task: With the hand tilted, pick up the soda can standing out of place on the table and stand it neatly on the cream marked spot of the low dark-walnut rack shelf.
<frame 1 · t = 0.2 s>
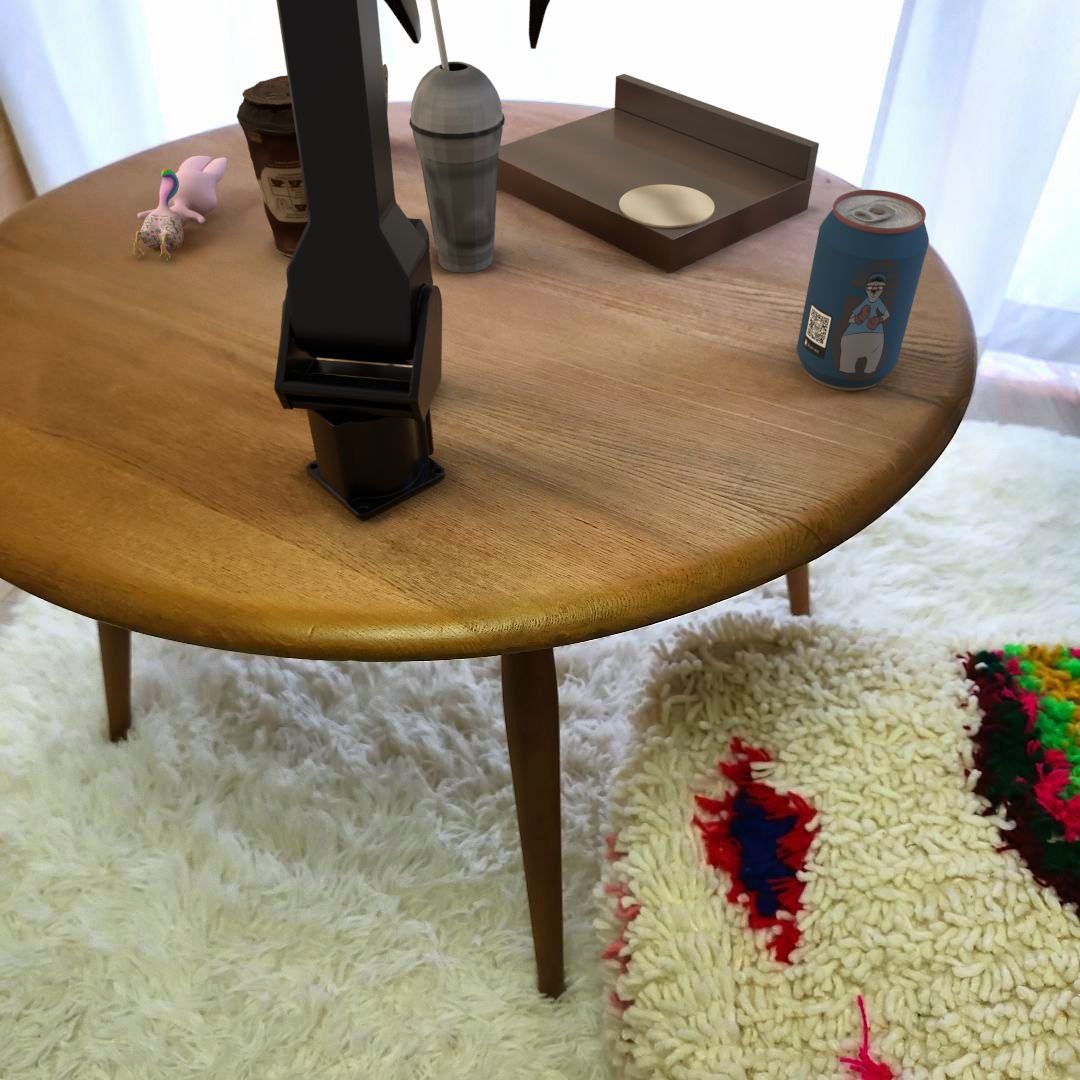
hand: (475, 43, 79), 15 cm above the table, tool pointing down, fingers open, 9 cm apart
rack shelf: (642, 195, 95), on the table
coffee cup: (313, 246, 88), on the table
rabbit figure: (190, 224, 92), on the table
cup: (359, 154, 103), on the table
beverage cup: (465, 262, 86), on the table
hand bell: (371, 394, 72), on the table
soda can: (842, 370, 73), on the table
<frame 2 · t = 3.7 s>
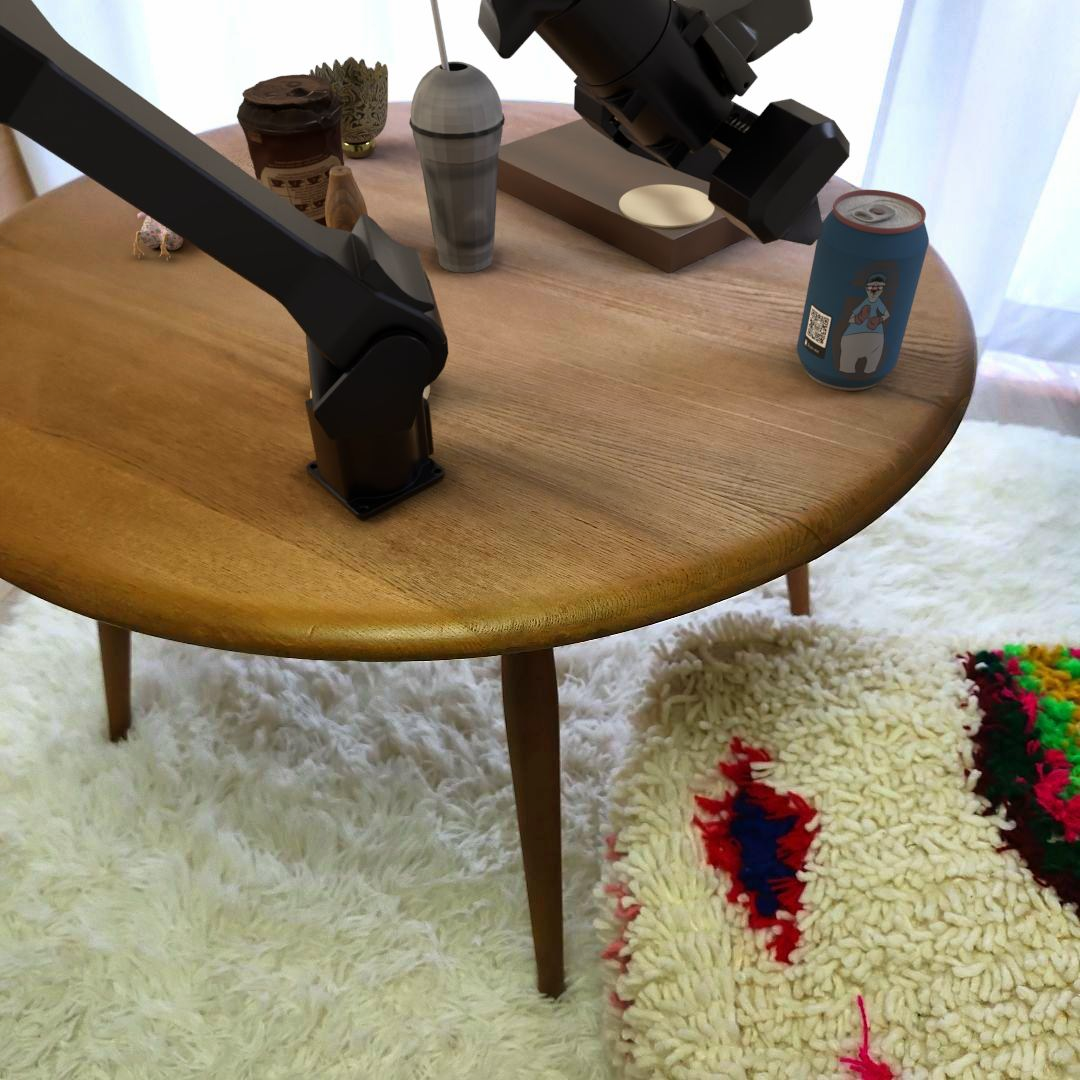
hand: (767, 206, 62), 14 cm above the table, tool tilted 45°, fingers open, 9 cm apart
nothing on the table moved.
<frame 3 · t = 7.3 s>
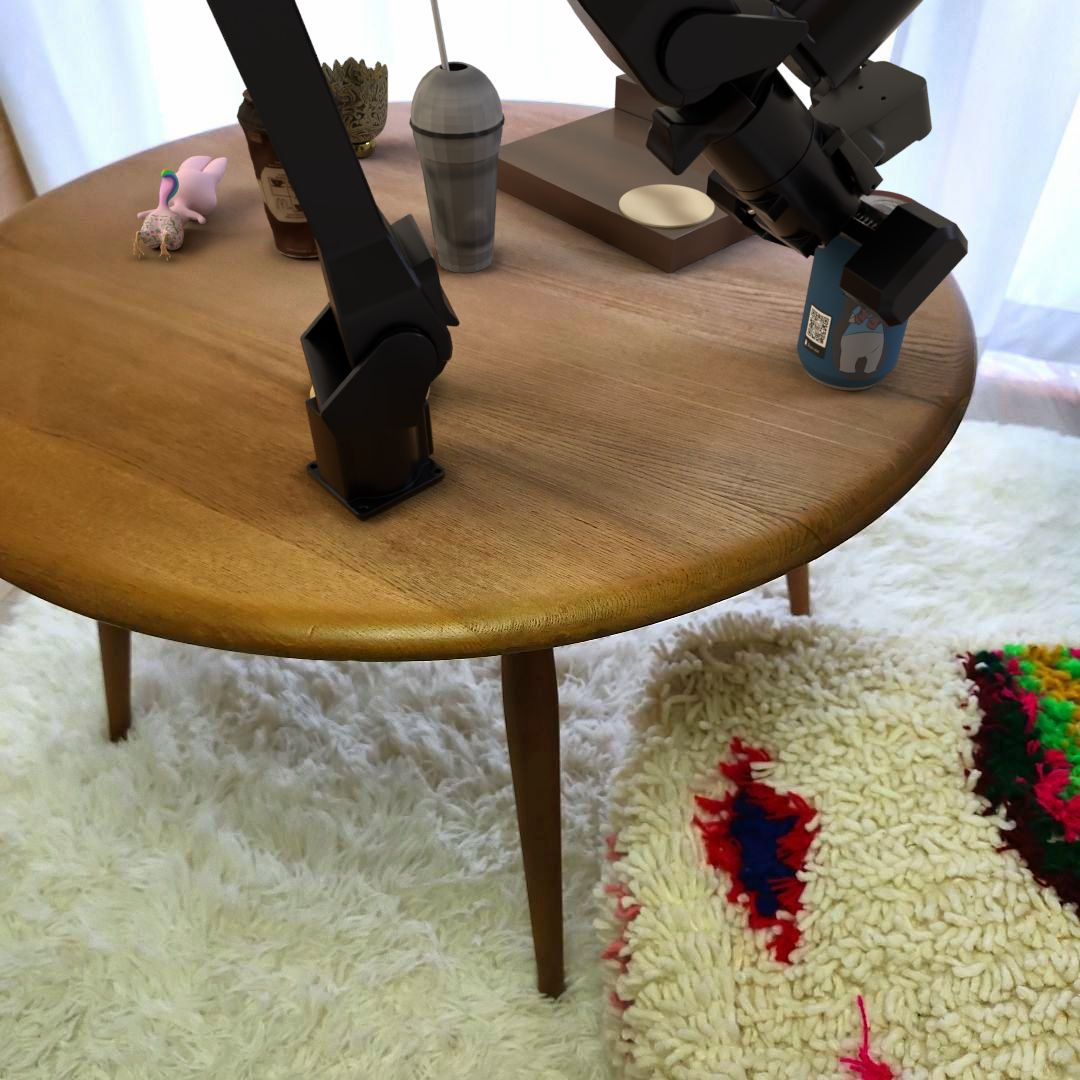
hand: (879, 280, 69), 7 cm above the table, tool tilted 45°, fingers closed on soda can, 7 cm apart
soda can: (842, 370, 73), on the table, touching gripper
everything else where it was.
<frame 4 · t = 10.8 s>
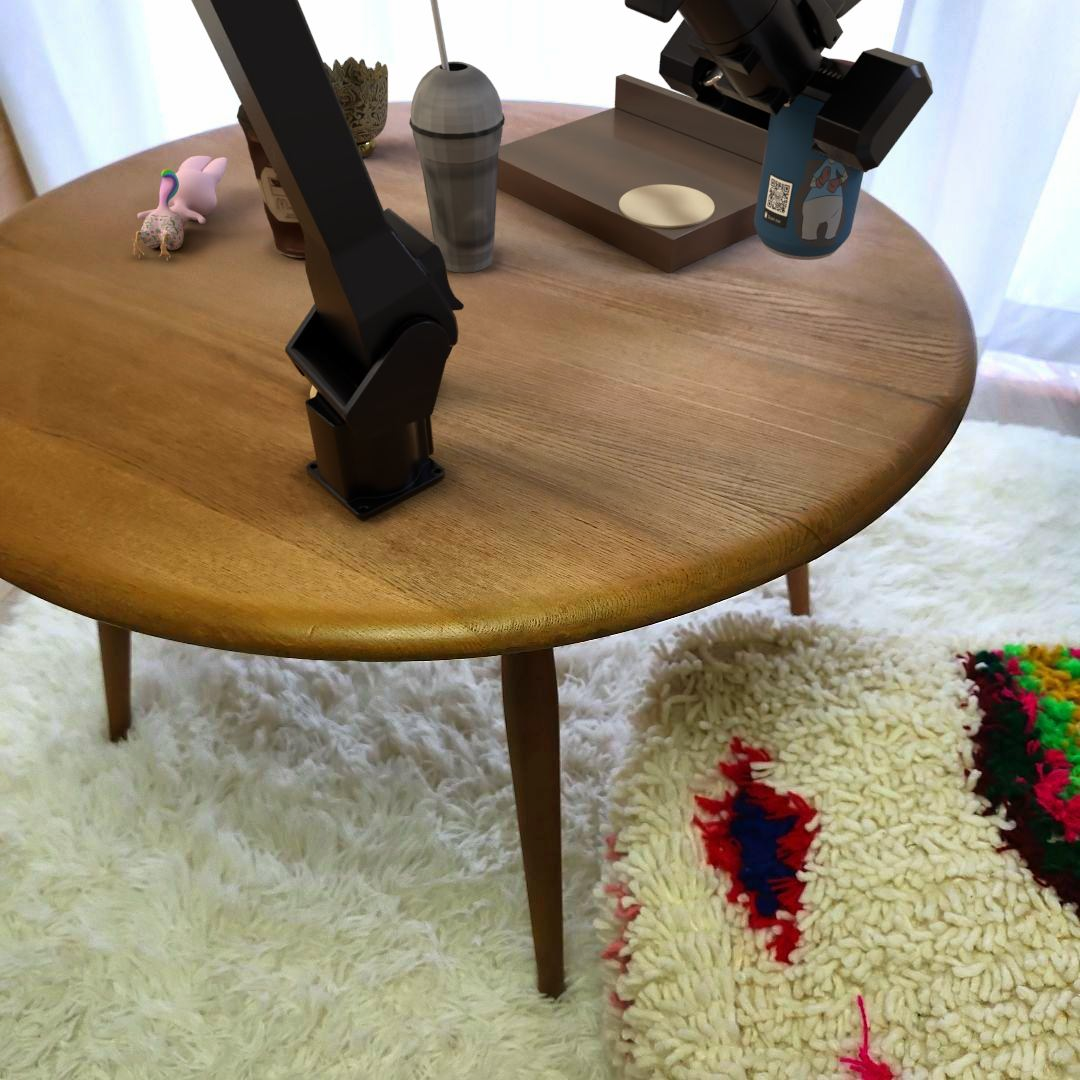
hand: (830, 148, 72), 12 cm above the table, tool tilted 45°, fingers closed on soda can, 7 cm apart
soda can: (798, 245, 75), point 6 cm above the table, touching gripper
everything else where it was.
when the fingers open (10 cm above the table, at t = 14.6 s): soda can stays where it is, resting on rack shelf.
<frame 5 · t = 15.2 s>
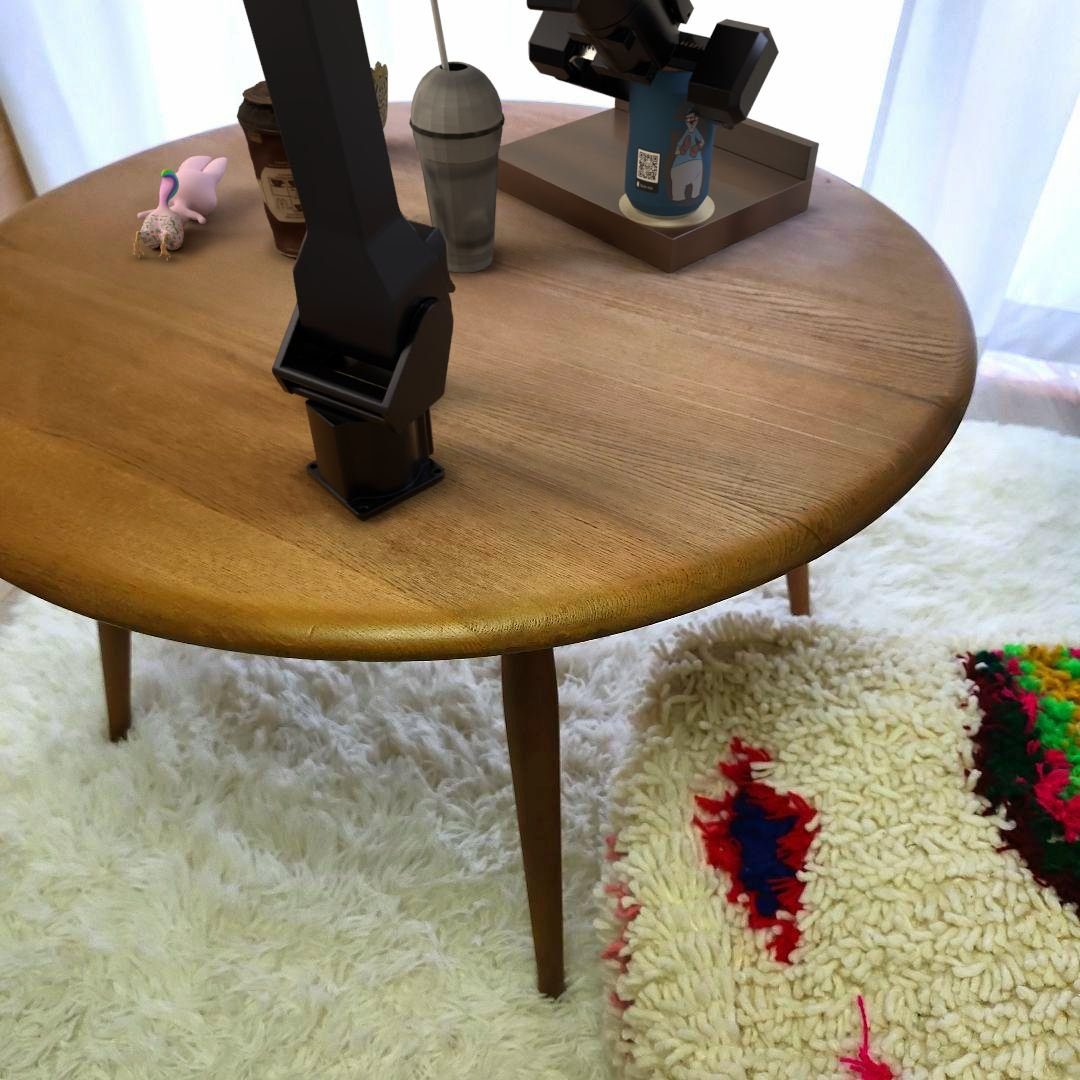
hand: (683, 110, 82), 11 cm above the table, tool tilted 45°, fingers open, 9 cm apart
soda can: (664, 206, 86), point 3 cm above the table, touching rack shelf
everything else where it was.
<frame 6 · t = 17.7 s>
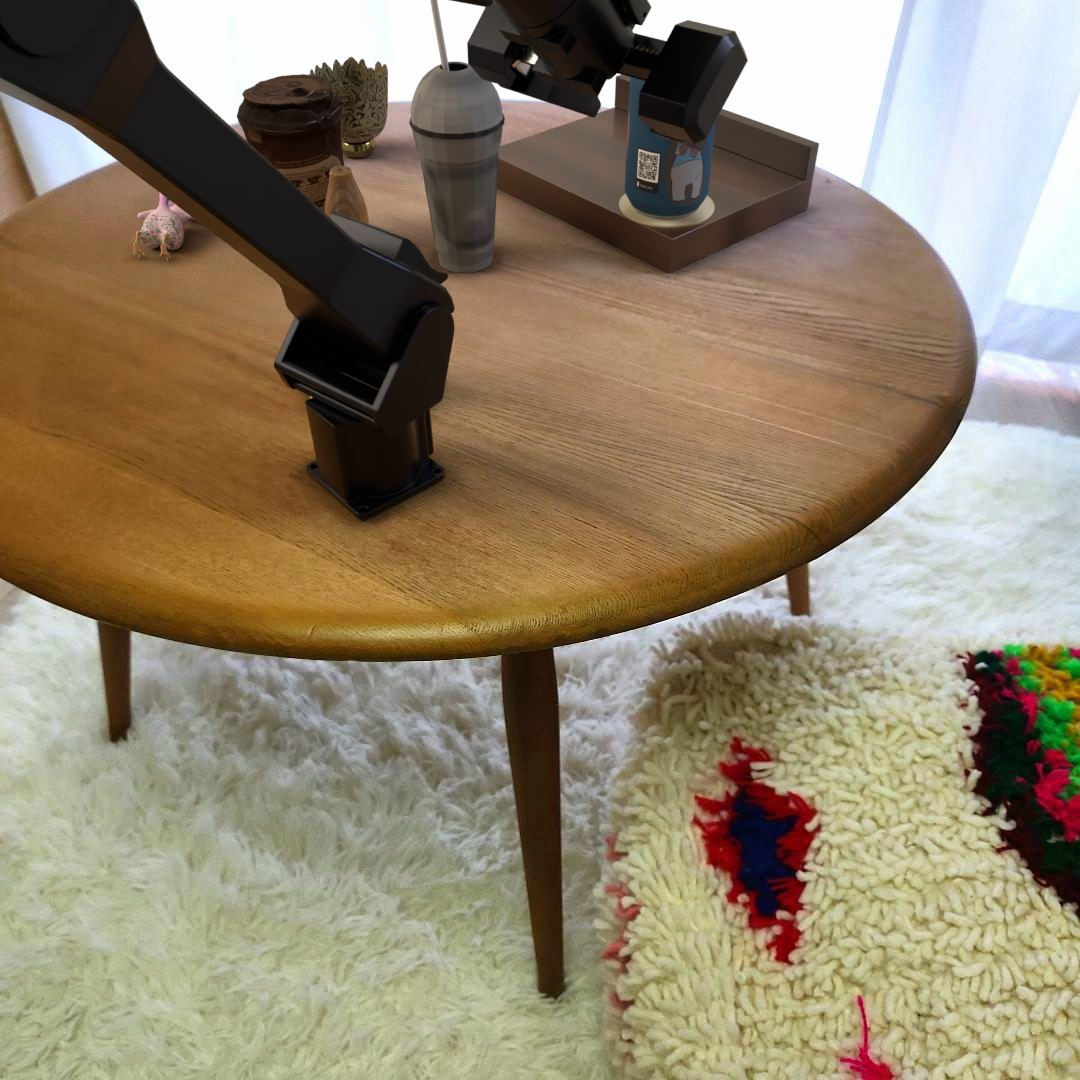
hand: (647, 126, 72), 14 cm above the table, tool tilted 45°, fingers open, 9 cm apart
nothing on the table moved.
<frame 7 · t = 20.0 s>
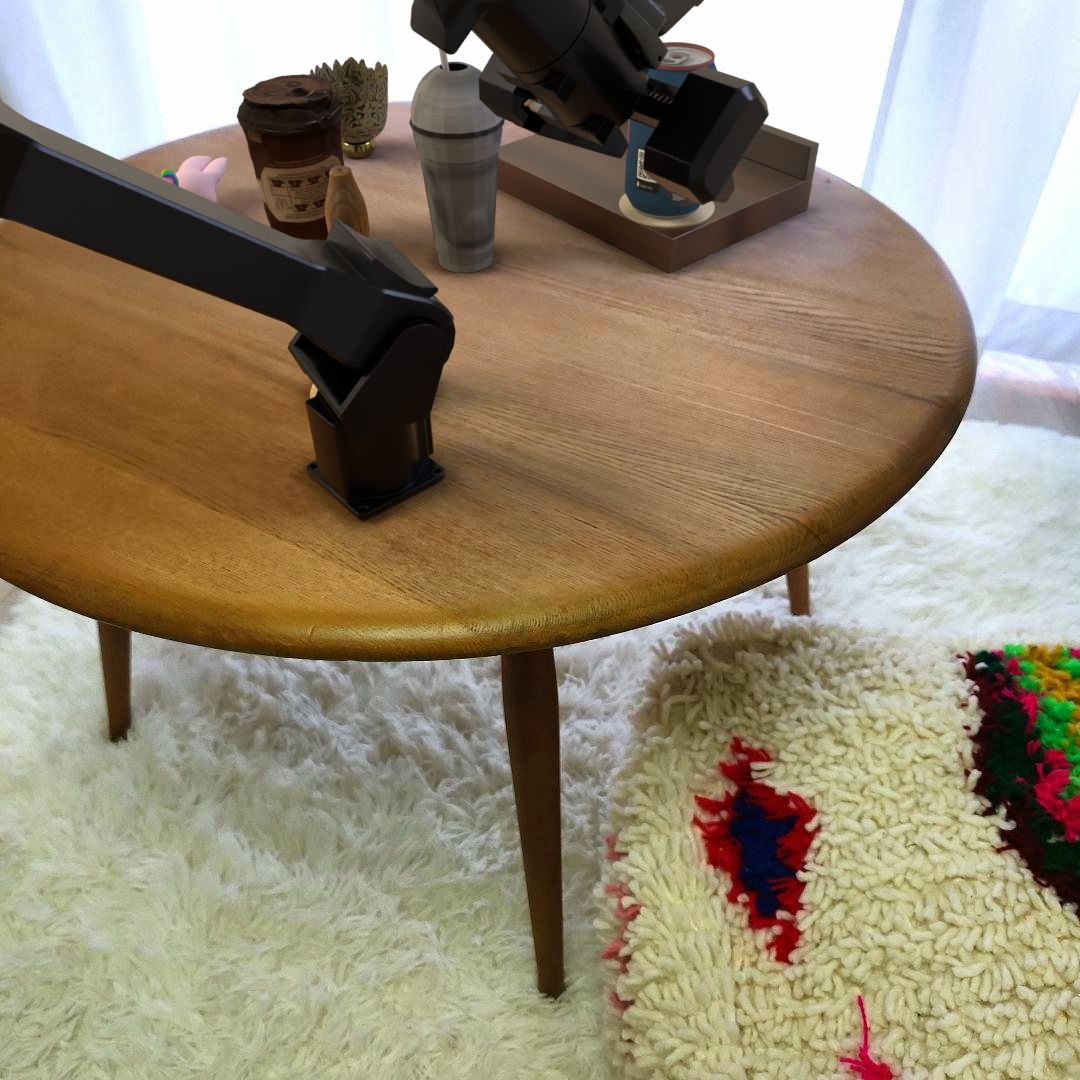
hand: (673, 172, 66), 14 cm above the table, tool tilted 45°, fingers open, 9 cm apart
nothing on the table moved.
at the end: soda can 0.2 cm from the target spot on the rack shelf, point 3.0 cm above the rack shelf's base; soda can tilted 0° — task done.
